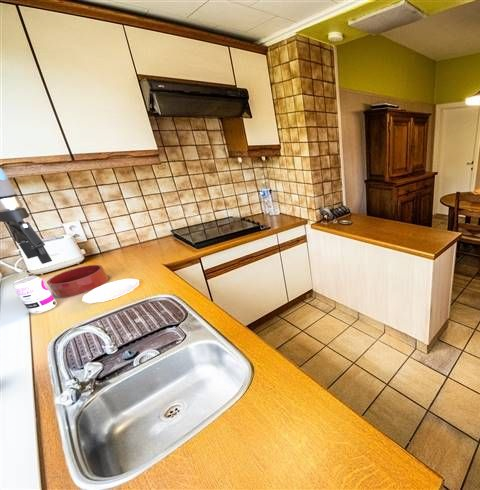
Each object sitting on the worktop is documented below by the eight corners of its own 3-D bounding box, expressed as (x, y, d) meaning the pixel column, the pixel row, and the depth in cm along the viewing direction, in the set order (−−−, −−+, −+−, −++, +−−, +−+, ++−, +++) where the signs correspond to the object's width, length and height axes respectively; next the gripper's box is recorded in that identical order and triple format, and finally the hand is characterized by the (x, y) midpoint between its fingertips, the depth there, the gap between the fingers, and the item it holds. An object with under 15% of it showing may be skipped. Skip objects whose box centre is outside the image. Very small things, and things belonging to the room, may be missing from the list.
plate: (149, 279, 139) (148, 276, 139) (122, 302, 120) (120, 299, 120) (105, 284, 137) (104, 281, 136) (70, 308, 118) (68, 305, 117)
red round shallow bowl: (42, 299, 126) (34, 286, 123) (77, 278, 144) (71, 267, 141) (87, 294, 128) (80, 282, 125) (117, 274, 146) (111, 263, 143)
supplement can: (56, 301, 124) (39, 273, 118) (58, 307, 119) (40, 278, 113) (30, 309, 118) (10, 281, 112) (30, 316, 114) (10, 287, 107)
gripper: (37, 209, 97) (66, 260, 106) (11, 204, 107) (39, 251, 115) (6, 214, 91) (39, 268, 99) (-19, 209, 101) (13, 259, 109)
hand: (39, 259), depth 107 cm, fingers open, 13 cm apart
